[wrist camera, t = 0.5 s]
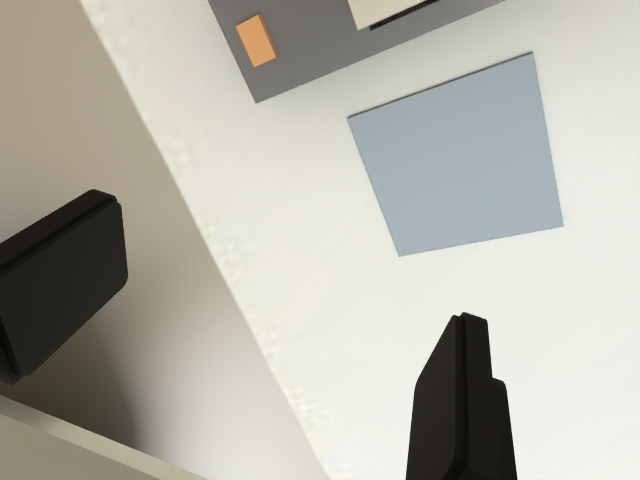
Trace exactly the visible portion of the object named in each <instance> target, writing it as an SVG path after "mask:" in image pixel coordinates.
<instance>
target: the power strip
mask: <svg viewBox="0 0 640 480" xmlns="http://www.w3.org/2000/svg"><path fill="white" fill-rule="evenodd" d="M502 1H505V0H436V1H434V2H432V3H430V4H427V5H425V6H423V7H421V8H418V9H416V10H414V11H412V12H409V13H407V14H405V15H403V16H400V17H398V18H396V19H394V20H391V21H389V22H387V23H385V24H382V25H380V26H378V27H377V26H376V23H375V24H373V25H370V26H368V27H366V28H364V29H362V30H359V31H358V30H357V27H356V25H355V22H354V19H353V16H352V13H351V10H350V7H349V4H348V1H347V0H208V2H209V4H210V6H211V8H212V10H213V12H214V14H215V17H216V19H217V21H218V23H219V25H220V27H221V30H222V32H223V34H224V36H225V38H226V40H227V42H228V45H229V47H230V49H231V51H232V53H233V55H234V57H235V60H236V62H237V64H238V66H239V68H240V70H241V73H242V75H243V77H244V79H245V81H246V83H247V85H248V88H249V90H250V92H251V94H252V96H253V98H254V100H255V103H256V104H257V103H259V102H261V101H264V100H266V99H269V98H271V97H273V96H276V95H278V94H281V93H283V92H286V91H288V90H290V89H293V88H295V87H298V86H300V85H302V84H305V83H307V82H310V81H312V80H314V79H317V78H319V77H322V76H324V75H326V74H329V73H331V72H334V71H336V70H338V69H341V68H343V67H346V66H348V65H351V64H353V63H355V62H358V61H360V60H363V59H365V58H367V57H370V56H372V55H375V54H377V53H379V52H382V51H384V50H387V49H389V48H391V47H394V46H396V45H399V44H401V43H404V42H406V41H408V40H411V39H413V38H416V37H418V36H420V35H423V34H425V33H428V32H430V31H432V30H435V29H437V28H440V27H442V26H444V25H447V24H449V23H452V22H454V21H456V20H459V19H461V18H464V17H466V16H469V15H471V14H473V13H476V12H478V11H481V10H483V9H485V8H488V7H490V6H493V5H495V4H497V3H500V2H502Z"/></svg>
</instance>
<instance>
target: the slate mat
mask: <svg viewBox="0 0 640 480" xmlns="http://www.w3.org/2000/svg"><path fill="white" fill-rule="evenodd" d="M347 121H348V124H349V126H350V129H351V132H352V134H353V137H354V139H355V142H356V145H357V147H358V150H359V153H360V155H361V158H362V161H363V163H364V166H365V169H366V171H367V174H368V176H369V179H370V182H371V184H372V187H373V190H374V192H375V195H376V198H377V200H378V203H379V205H380V208H381V211H382V213H383V216H384V219H385V221H386V224H387V227H388V229H389V232H390V234H391V237H392V240H393V242H394V245H395V248H396V250H397V253H398V256H399V257H400V256H405V255H411V254H416V253H422V252H427V251H433V250H438V249H443V248H449V247H454V246H460V245H465V244H471V243H476V242H482V241H487V240H493V239H498V238H503V237H509V236H514V235H520V234H525V233H531V232H536V231H542V230H547V229H553V228H558V227H563V220H562V214H561V209H560V203H559V197H558V191H557V186H556V180H555V174H554V168H553V163H552V157H551V151H550V146H549V140H548V134H547V128H546V123H545V117H544V111H543V106H542V100H541V94H540V88H539V83H538V77H537V71H536V65H535V60H534V54H533V52H532V53H529V54H526V55H523V56H521V57H518V58H515V59H512V60H509V61H506V62H504V63H501V64H498V65H495V66H492V67H490V68H487V69H484V70H481V71H478V72H475V73H473V74H470V75H467V76H464V77H461V78H459V79H456V80H453V81H450V82H447V83H444V84H442V85H439V86H436V87H433V88H430V89H428V90H425V91H422V92H419V93H416V94H413V95H411V96H408V97H405V98H402V99H399V100H397V101H394V102H391V103H388V104H385V105H382V106H380V107H377V108H374V109H371V110H368V111H366V112H363V113H360V114H357V115H354V116H351V117H349V118H347Z"/></svg>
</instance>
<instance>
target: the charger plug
mask: <svg viewBox="0 0 640 480" xmlns="http://www.w3.org/2000/svg"><path fill="white" fill-rule="evenodd" d="M347 1H348V4H349V7H350V10H351V13H352V16H353V19H354V22H355V25H356V27H357V30H358V31H359V30H362V29H364V28H366V27H368V26H370V25H373V24H375V23H377V22H379V21H382V20H384V19H386V18H388V17H390V16H393V15H395V14H397V13H399V12H402V11H404V10H406V9H408V8H410V7H413V6H415V5H417V4H419V3H422V2H424V1H426V0H347Z"/></svg>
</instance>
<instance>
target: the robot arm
mask: <svg viewBox="0 0 640 480" xmlns="http://www.w3.org/2000/svg"><path fill="white" fill-rule="evenodd" d="M127 278H128V269H127V260H126V249H125V239H124V229H123V219H122V209H121V205H120V204H119V203H118V202H117V199H116V197H115V196H113V195H111V194H108V193H105V192H102V191H98V190H96V189H95V190H94V189H92V190H89V191H87V192H86V193H84V194H82V195H81V196H79V197H78V198H76V199H74V200H72V201H71V202H69V203H67V204H66V205H64V206H63V207H61V208H59V209H57V210H56V211H54V212H52V213H51V214H49V215H47V216H45V217H44V218H42V219H40V220H39V221H37V222H35V223H34V224H32V225H30V226H29V227H27V228H26V229H24V230H22V231H20V232H19V233H17V234H15V235H14V236H12V237H10V238H9V239H7V240H5V241H4V242H2V243H0V381H3V382H5V383H8V384H10V385H12V386H13V385H14V384H15V383H17V381H19V379H21V378H22V377H23V376H27V375H30V374H31V373H33V372H34V371H35V370H36V369H37V368H38V367H39V366H41V365H42V364H43V363H44V362H45V361H46V360H47V359H48V358H49V357H50V356H51V355H52V354H53V353H54V352H55V351H56V350H57V349H58V348H60V347H61V346H62V344H64V343H65V342H66V341H67V340H68V339H69V338H70V337H71V336H72V335H73V334H74V333H75V332H76V331H77V330H78V329H79V328H81V327H82V326H83V325H84V324H85V323H86V322H87V321H88V320H89V319H90V318H91V317H92V316H93V315H94V314H95V313H96V312H97V311H98V310H99V309H101V308H102V307H103V306H104V305H105V304H106V303H107V302H108V301H109V300H110V299H111V298H112V297H113V296H114V295H115V294H116V293H117V292H119V291H120V290H121V289H122V288H123V287H124V285H125V284H126V281H127ZM0 480H208V479H206V478H203V477H201V476H198V475H196V474H194V473H191V472H188V471H186V470H184V469H181V468H179V467H176V466H174V465H172V464H169V463H167V462H164V461H161V460H159V459H157V458H154V457H152V456H149V455H147V454H144V453H142V452H140V451H137V450H135V449H132V448H130V447H127V446H125V445H122V444H119V443H117V442H115V441H112V440H110V439H107V438H105V437H102V436H100V435H98V434H95V433H92V432H90V431H88V430H85V429H83V428H80V427H78V426H75V425H73V424H70V423H68V422H65V421H63V420H60V419H58V418H55V417H52V416H50V415H48V414H45V413H43V412H40V411H38V410H35V409H33V408H30V407H28V406H25V405H23V404H20V403H17V402H15V401H13V400H10V399H8V398H5V397H3V396H0ZM406 480H517V472H516V464H515V455H514V447H513V439H512V431H511V422H510V414H509V406H508V398H507V390H506V386H505V384H504V382H503V381H501V380H498V379H495V378H492V367H491V356H490V345H489V333H488V323H487V320H486V319H483V318H480V317H477V316H474V315H471V314H468V313H465V312H463V313H462V314H461V315H460V317H459V316H456V315H453V316H452V317H451V319H450V321H449V323H448V324H447V326H446V328H445V330H444V332H443V334H442V335H441V337H440V339H439V341H438V343H437V345H436V347H435V348H434V350H433V352H432V354H431V356H430V358H429V359H428V361H427V363H426V365H425V367H424V369H423V370H422V372H421V374H420V376H419V378H418V380H417V383H416V386H415V391H414V401H413V411H412V421H411V431H410V441H409V451H408V461H407V471H406Z"/></svg>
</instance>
